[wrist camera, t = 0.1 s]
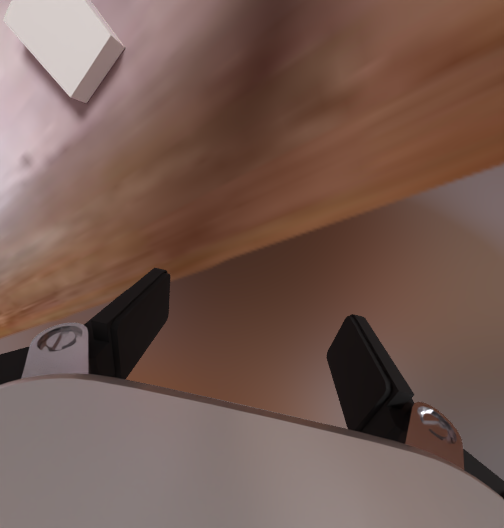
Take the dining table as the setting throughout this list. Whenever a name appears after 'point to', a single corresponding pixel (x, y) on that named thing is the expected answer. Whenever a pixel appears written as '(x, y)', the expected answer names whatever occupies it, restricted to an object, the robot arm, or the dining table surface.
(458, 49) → the dining table surface
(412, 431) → the robot arm
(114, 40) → the base tile
